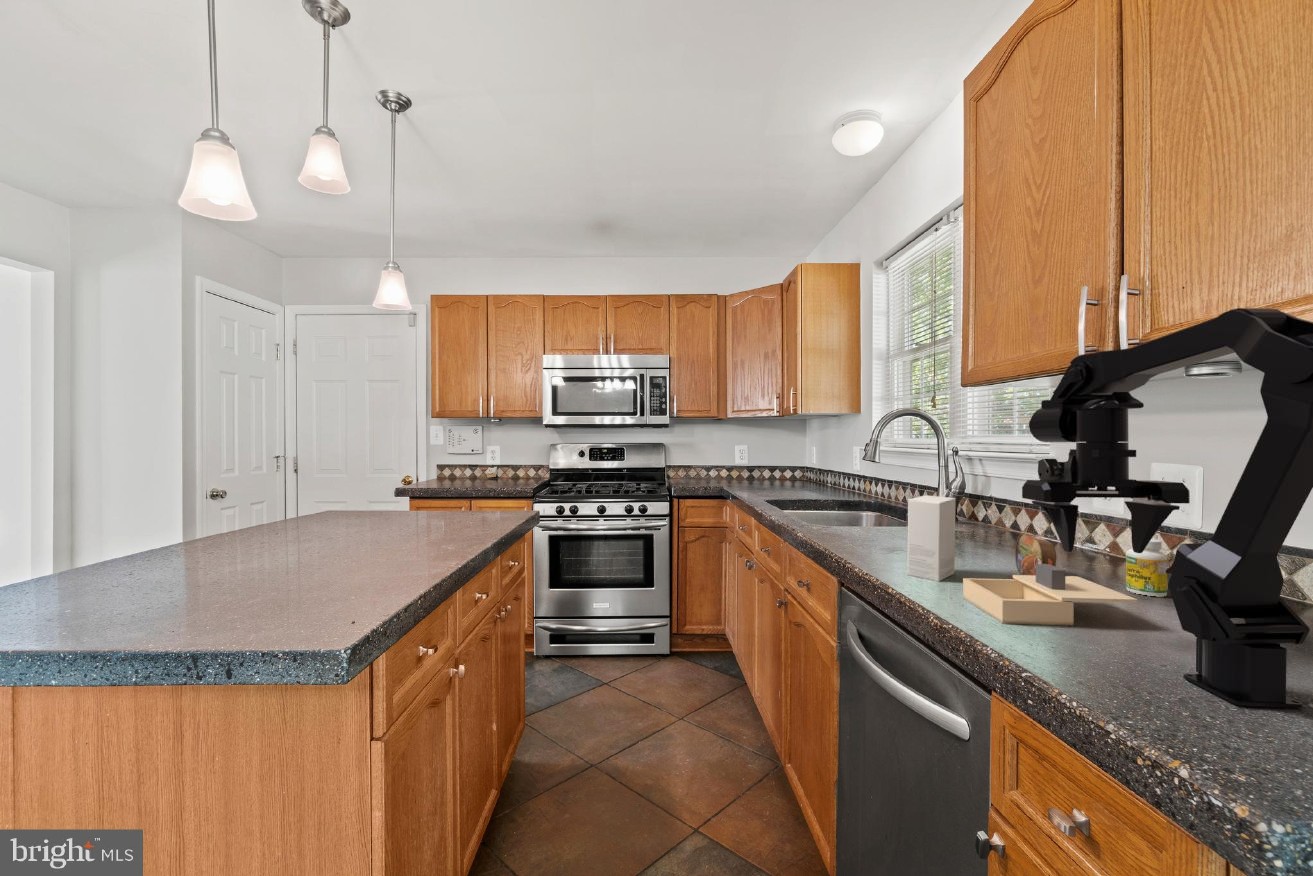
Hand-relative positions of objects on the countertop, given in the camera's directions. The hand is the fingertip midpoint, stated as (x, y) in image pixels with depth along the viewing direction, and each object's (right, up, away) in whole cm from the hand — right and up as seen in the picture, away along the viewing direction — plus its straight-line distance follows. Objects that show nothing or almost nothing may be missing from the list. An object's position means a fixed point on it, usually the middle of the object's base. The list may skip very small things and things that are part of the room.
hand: (1102, 552), depth 75 cm
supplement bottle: (+24, -12, +19) cm, 33 cm away
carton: (-6, -12, +10) cm, 16 cm away
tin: (+11, -12, +28) cm, 32 cm away
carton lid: (+2, -8, +9) cm, 12 cm away
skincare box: (-8, -12, +31) cm, 34 cm away
